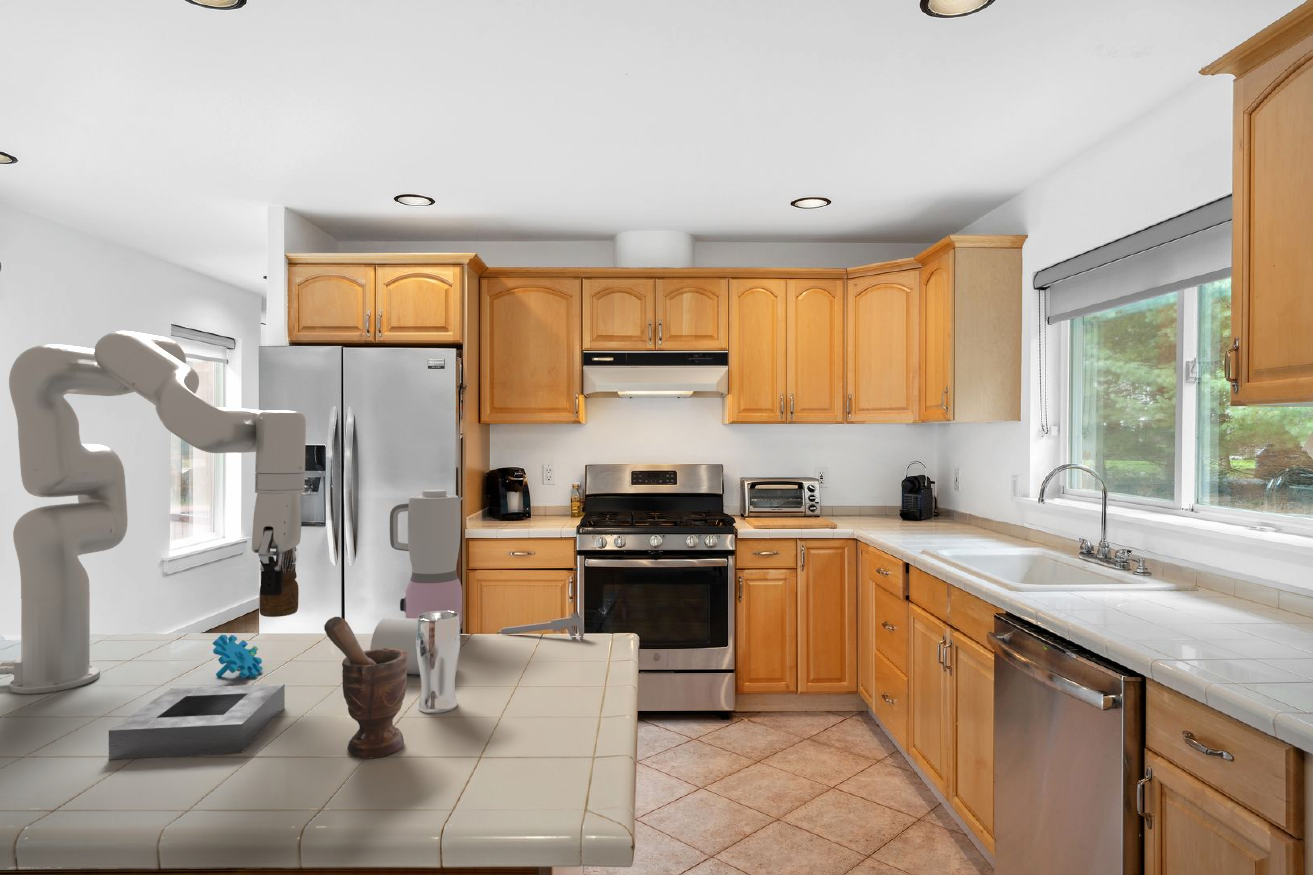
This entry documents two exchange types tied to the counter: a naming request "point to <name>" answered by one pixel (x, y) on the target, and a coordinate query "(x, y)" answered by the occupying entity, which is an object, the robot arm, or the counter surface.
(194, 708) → the hollow square block
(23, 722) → the counter surface
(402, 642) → the toilet paper
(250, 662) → the gear
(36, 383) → the robot arm
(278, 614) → the utensil holder
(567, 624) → the caliper
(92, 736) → the counter surface
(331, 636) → the mortar and pestle
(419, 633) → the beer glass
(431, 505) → the blender
